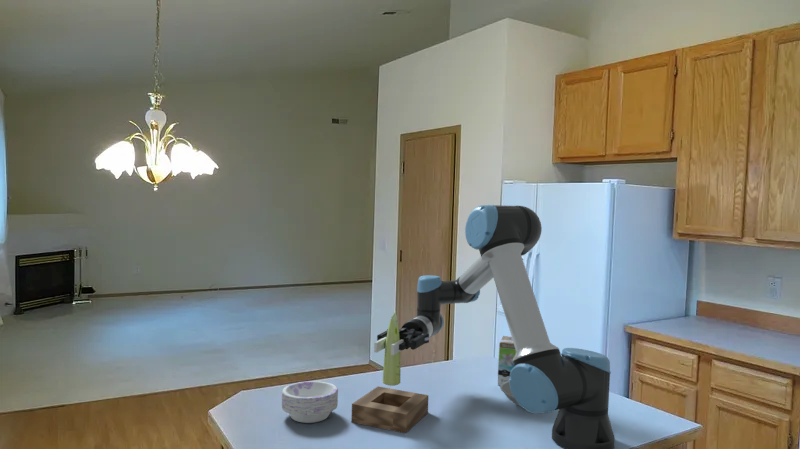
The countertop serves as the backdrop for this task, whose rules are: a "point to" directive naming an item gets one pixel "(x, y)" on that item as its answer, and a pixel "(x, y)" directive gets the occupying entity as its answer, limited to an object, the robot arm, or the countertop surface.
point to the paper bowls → (309, 400)
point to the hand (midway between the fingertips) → (384, 348)
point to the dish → (508, 391)
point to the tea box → (505, 359)
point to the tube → (392, 361)
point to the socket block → (390, 409)
